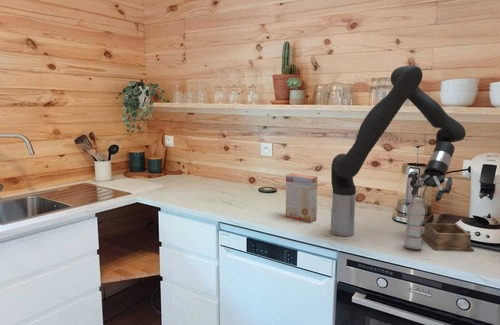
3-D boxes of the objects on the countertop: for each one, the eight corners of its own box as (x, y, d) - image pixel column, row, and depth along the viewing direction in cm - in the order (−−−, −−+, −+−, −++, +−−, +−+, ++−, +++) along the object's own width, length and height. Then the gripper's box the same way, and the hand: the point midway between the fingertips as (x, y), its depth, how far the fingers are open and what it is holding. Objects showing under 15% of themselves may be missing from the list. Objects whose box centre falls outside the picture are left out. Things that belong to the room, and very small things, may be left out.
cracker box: (317, 220, 167) (318, 176, 163) (310, 223, 162) (311, 178, 159) (292, 214, 176) (292, 172, 172) (285, 217, 172) (285, 174, 168)
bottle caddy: (433, 250, 132) (434, 234, 131) (420, 236, 146) (421, 222, 145) (473, 251, 131) (475, 236, 130) (456, 237, 144) (457, 223, 143)
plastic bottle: (416, 244, 138) (420, 194, 134) (426, 251, 131) (430, 199, 128) (400, 244, 137) (403, 194, 134) (408, 252, 131) (412, 199, 127)
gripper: (417, 157, 145) (403, 189, 139) (456, 161, 135) (442, 196, 129) (421, 168, 150) (408, 200, 144) (459, 173, 140) (446, 207, 134)
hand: (424, 198), depth 137 cm, fingers open, 8 cm apart
